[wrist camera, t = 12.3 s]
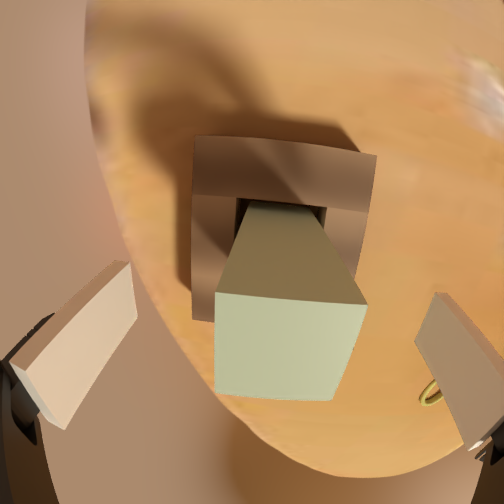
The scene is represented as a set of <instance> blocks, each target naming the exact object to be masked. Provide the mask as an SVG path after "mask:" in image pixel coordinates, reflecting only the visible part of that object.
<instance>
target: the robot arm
mask: <svg viewBox="0 0 504 504" xmlns="http://www.w3.org/2000/svg"><path fill="white" fill-rule="evenodd" d="M137 318H138V316H137V310H136V303H135V297H134V291H133V283H132V275H131V267H130V263H129V262H123V261H116V260H115V261H114V262H112V263H111V264H110V265H109V266H108V267H106V268H105V269H104V270H103V271H102V272H100V273H99V274H98V275H97V276H96V277H95V278H94V279H92V280H91V281H90V282H89V283H88V284H87V285H86V286H84V287H83V288H82V289H81V290H80V291H79V292H78V293H77V294H76V295H74V296H73V297H72V298H71V299H70V300H69V301H68V302H67V303H66V304H65V305H64V306H63V307H61V308H60V309H59V310H58V311H57V312H56V313H52V314H51V315H49V316H47V317H45V318H43V319H42V320H41V321H40V322H39V323H38V324H37V325H36V326H35V327H34V329H31V331H29V333H27V336H25V337H24V338H23V339H22V340H21V341H20V342H19V343H18V344H17V345H16V346H15V347H14V348H13V349H12V350H11V351H10V352H9V353H8V354H7V355H6V356H5V358H4V359H3V360H1V361H0V504H59V502H58V499H57V496H56V493H55V489H54V486H53V483H52V479H51V476H50V472H49V468H48V464H47V460H46V455H45V450H44V445H43V440H42V433H41V427H40V422H39V419H38V417H37V414H38V413H39V411H41V412H42V414H43V415H44V417H45V418H46V419H47V421H49V422H51V423H52V424H54V425H56V426H58V427H60V428H61V429H63V430H65V429H66V427H67V425H68V423H69V422H70V420H71V418H72V417H73V415H74V413H75V412H76V410H77V408H78V407H79V405H80V403H81V402H82V400H83V399H84V397H85V395H86V394H87V392H88V391H89V389H90V387H91V385H92V384H93V383H94V381H95V379H96V378H97V376H98V375H99V373H100V372H101V370H102V369H103V367H104V366H105V364H106V363H107V361H108V360H109V358H110V356H111V355H112V353H113V352H114V351H115V349H116V348H117V346H118V345H119V343H120V342H121V340H122V339H123V337H124V336H125V334H126V333H127V332H128V330H129V328H130V327H131V326H132V325H133V323H134V322H135V320H136V319H137ZM414 342H415V344H416V346H417V347H418V349H419V351H420V353H421V354H422V356H423V358H424V360H425V362H426V364H427V365H428V367H429V369H430V371H431V373H432V375H433V377H434V379H435V381H436V383H437V385H438V386H439V388H440V390H441V393H442V395H443V397H444V399H445V401H446V403H447V405H448V407H449V409H450V411H451V414H452V416H453V418H454V420H455V423H456V425H457V427H458V429H459V432H460V434H461V437H462V439H463V441H464V444H465V446H466V449H467V451H469V450H471V449H473V448H476V447H478V446H480V445H481V444H482V443H483V442H484V441H485V440H486V439H487V438H489V437H490V436H491V437H492V441H491V442H490V443H488V444H487V445H486V446H485V447H484V448H483V449H482V450H481V451H480V452H479V453H478V454H477V455H476V457H475V459H477V458H478V457H480V456H481V455H482V454H483V453H486V454H485V455H483V456H482V457H481V458H480V461H483V466H482V470H481V474H480V477H479V481H478V484H477V487H476V490H475V493H474V496H473V499H472V501H471V504H504V360H503V359H502V358H501V356H500V355H499V354H498V352H497V351H496V350H495V349H494V347H493V346H492V345H491V343H490V342H489V341H488V340H487V338H486V337H485V336H484V335H483V333H482V332H481V331H480V330H479V329H478V327H477V326H476V325H475V324H474V323H473V321H472V320H471V319H470V318H469V317H468V316H467V315H466V313H465V312H464V311H463V310H462V309H461V308H460V307H459V306H458V304H457V303H456V302H455V301H454V300H453V299H452V298H451V297H450V296H449V295H448V294H447V293H438V292H435V294H434V297H433V299H432V302H431V304H430V307H429V309H428V312H427V314H426V316H425V319H424V321H423V323H422V325H421V328H420V330H419V332H418V334H417V336H416V338H415V341H414Z"/></svg>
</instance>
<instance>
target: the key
mask: <svg viewBox="0 0 504 504" xmlns="http://www.w3.org/2000/svg"><path fill="white" fill-rule="evenodd" d="M436 384H437V383H436V381H435V379H434V380H433V381H432V382H431V383H430V384H429V385H428V386H427V388H426V389H425V390H424V391H423V393H422V394H421V396H420V399H419V400H420V403H421V404H422V405H423V406H430V405H433V404H435V403H436V402H438V401H439V400H441V399H442V398H443V395H442V393H441V392H439V393H438V394H437V395H436V396H434V397H433V398H431V399H428V400H425V398H426V396H427V394H428V393H429V391H430V390H431V389H432V388H433V387H434V386H435V385H436Z"/></svg>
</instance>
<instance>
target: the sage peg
mask: <svg viewBox="0 0 504 504" xmlns="http://www.w3.org/2000/svg"><path fill="white" fill-rule="evenodd" d="M367 308H368V304H367V302H366V300H365V298H364V296H363V295H362V293H361V291H360V289H359V288H358V286H357V284H356V282H355V281H354V279H353V277H352V275H351V274H350V272H349V270H348V269H347V267H346V265H345V264H344V262H343V260H342V259H341V257H340V255H339V254H338V252H337V250H336V249H335V247H334V246H333V244H332V242H331V241H330V239H329V238H328V236H327V234H326V233H325V231H324V230H323V228H322V227H321V225H320V223H319V222H318V220H317V219H316V217H315V216H314V214H313V213H312V211H311V210H310V208H309V207H303V206H294V205H285V204H275V203H266V202H255V201H250V203H249V206H248V208H247V211H246V213H245V216H244V218H243V221H242V223H241V226H240V229H239V231H238V234H237V236H236V239H235V241H234V244H233V247H232V249H231V252H230V254H229V257H228V259H227V262H226V265H225V267H224V270H223V273H222V275H221V278H220V280H219V283H218V286H217V288H216V291H215V336H214V364H215V393H219V394H227V395H235V396H244V397H254V398H265V399H281V400H310V401H330V400H332V398H333V396H334V394H335V392H336V389H337V387H338V385H339V382H340V380H341V378H342V375H343V373H344V371H345V368H346V366H347V363H348V361H349V358H350V356H351V353H352V350H353V348H354V345H355V343H356V340H357V337H358V334H359V331H360V329H361V326H362V323H363V320H364V317H365V314H366V311H367Z"/></svg>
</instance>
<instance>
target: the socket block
mask: <svg viewBox="0 0 504 504" xmlns="http://www.w3.org/2000/svg"><path fill="white" fill-rule="evenodd" d="M376 159H377V156H376V155H371V154H366V153H361V152H356V151H351V150H346V149H340V148H334V147H328V146H322V145H315V144H308V143H301V142H293V141H284V140H274V139H264V138H251V137H236V136H213V135H195V143H194V160H193V180H192V209H191V292H192V319H193V320H199V321H207V322H214V323H215V291H216V288H217V286H218V283H219V280H220V278H221V275H222V273H223V270H224V267H225V265H226V262H227V259H228V257H229V254H230V252H231V249H232V247H233V244H234V241H235V239H236V236H237V234H238V227H239V213H240V199H241V198H247V199H258V200H269V201H279V202H288V203H297V204H305V205H314V206H318V213H317V220H318V222H319V223H320V225H321V227H322V228H323V230H324V231H325V233H326V234H327V236H328V238H329V239H330V241H331V242H332V244H333V246H334V247H335V249H336V250H337V252H338V254H339V255H340V257H341V259H342V260H343V262H344V264H345V265H346V267H347V269H348V270H349V272H350V274H351V275H352V277H353V279H354V278H355V274H356V270H357V265H358V261H359V257H360V252H361V248H362V243H363V238H364V234H365V228H366V223H367V218H368V212H369V207H370V201H371V195H372V188H373V181H374V174H375V167H376Z"/></svg>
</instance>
